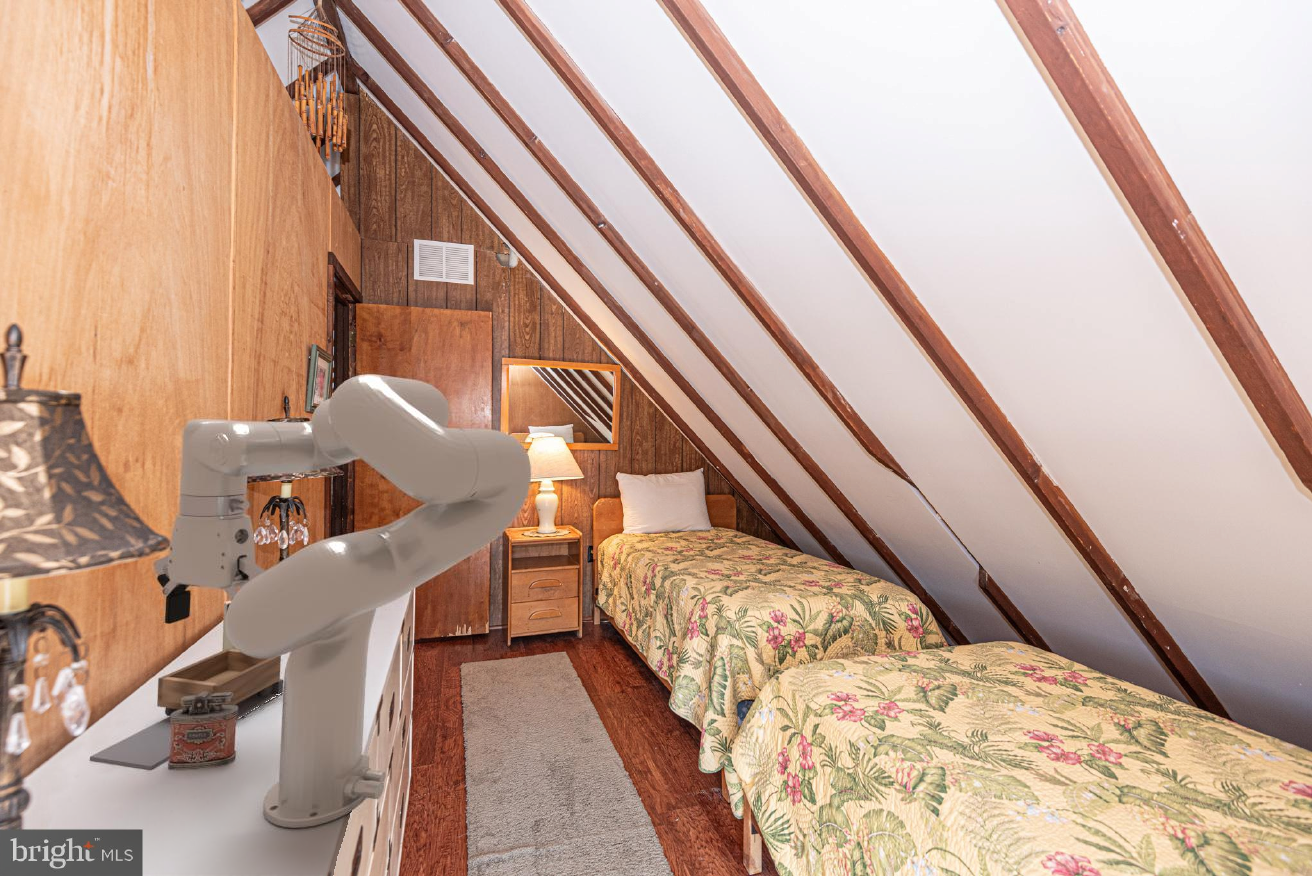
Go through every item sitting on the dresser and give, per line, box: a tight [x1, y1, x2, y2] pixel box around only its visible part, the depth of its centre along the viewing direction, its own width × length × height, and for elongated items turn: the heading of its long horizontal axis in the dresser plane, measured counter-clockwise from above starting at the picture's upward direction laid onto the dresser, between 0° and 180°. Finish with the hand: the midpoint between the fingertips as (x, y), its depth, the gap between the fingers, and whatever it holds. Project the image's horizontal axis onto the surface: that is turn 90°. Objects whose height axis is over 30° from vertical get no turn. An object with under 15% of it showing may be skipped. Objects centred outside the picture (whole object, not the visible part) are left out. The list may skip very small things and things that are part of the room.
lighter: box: [167, 691, 238, 771], centre depth 82 cm, size 8×3×10 cm, turn 105°
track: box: [89, 678, 284, 771], centre depth 92 cm, size 10×24×2 cm, turn 172°
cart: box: [156, 649, 282, 717], centre depth 96 cm, size 11×13×7 cm
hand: (207, 624), depth 82 cm, fingers open, 9 cm apart
